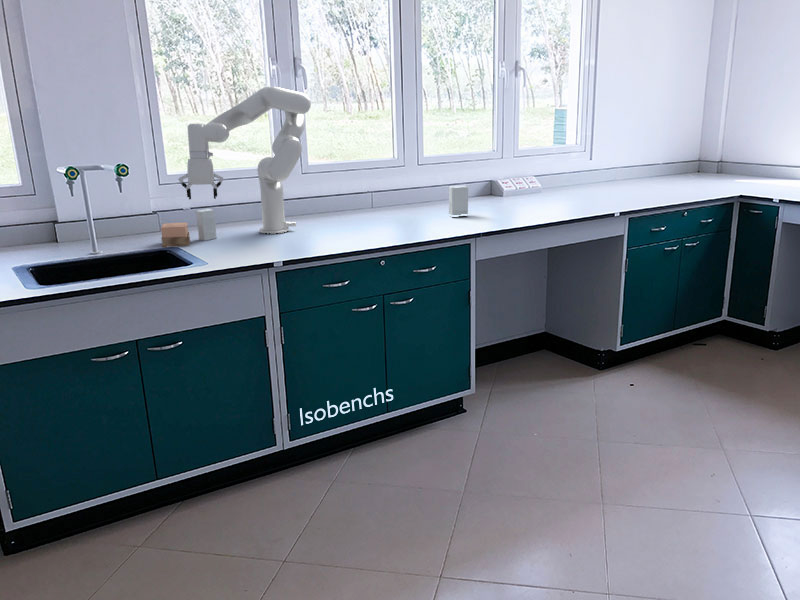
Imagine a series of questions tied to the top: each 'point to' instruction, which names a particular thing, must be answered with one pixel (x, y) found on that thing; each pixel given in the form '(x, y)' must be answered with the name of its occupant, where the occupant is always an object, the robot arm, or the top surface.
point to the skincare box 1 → (206, 224)
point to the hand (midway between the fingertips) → (202, 198)
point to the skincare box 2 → (458, 200)
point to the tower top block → (174, 230)
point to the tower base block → (176, 241)
